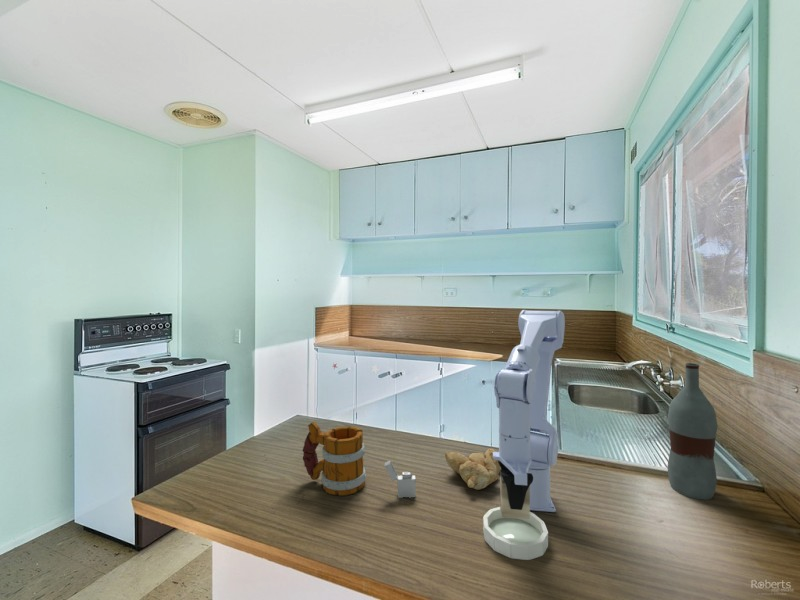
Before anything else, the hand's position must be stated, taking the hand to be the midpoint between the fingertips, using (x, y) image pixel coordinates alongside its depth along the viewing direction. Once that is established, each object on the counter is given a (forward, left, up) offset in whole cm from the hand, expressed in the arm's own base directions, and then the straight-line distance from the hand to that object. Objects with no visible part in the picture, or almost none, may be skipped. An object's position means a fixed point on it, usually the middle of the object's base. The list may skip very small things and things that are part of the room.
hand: (514, 502), depth 69 cm
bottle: (-23, +44, -7) cm, 50 cm away
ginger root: (-21, -6, -7) cm, 23 cm away
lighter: (-11, -24, -7) cm, 27 cm away
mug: (-14, -41, -7) cm, 44 cm away
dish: (0, 0, -7) cm, 7 cm away
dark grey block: (0, 0, -2) cm, 2 cm away
